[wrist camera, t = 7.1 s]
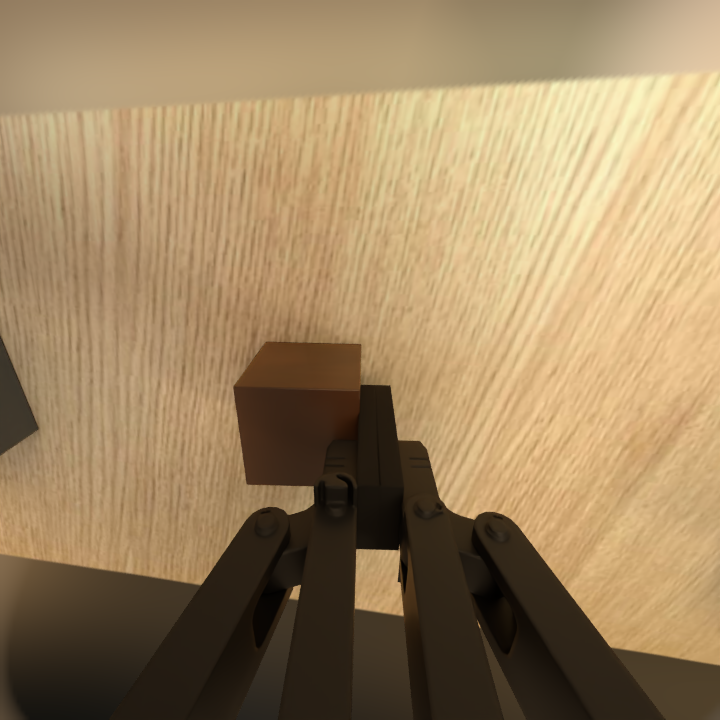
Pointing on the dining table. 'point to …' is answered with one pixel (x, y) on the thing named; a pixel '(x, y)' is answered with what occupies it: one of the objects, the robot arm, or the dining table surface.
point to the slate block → (12, 407)
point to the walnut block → (296, 409)
